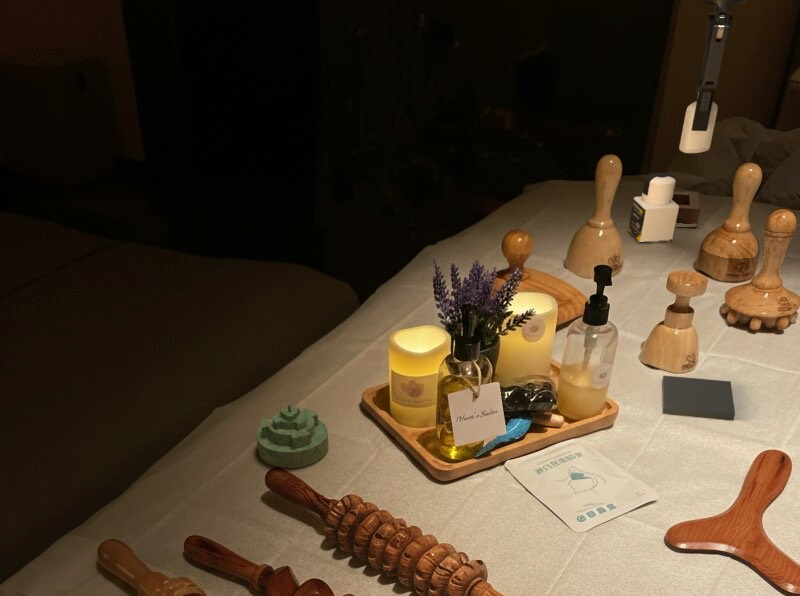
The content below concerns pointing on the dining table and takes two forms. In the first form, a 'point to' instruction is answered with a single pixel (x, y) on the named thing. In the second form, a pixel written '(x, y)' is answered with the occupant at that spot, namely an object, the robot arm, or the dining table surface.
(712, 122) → the eye dropper bottle
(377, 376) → the dining table surface
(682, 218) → the holder
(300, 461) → the decorative artifact
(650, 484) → the dining table surface
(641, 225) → the medicine bottle
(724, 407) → the coaster
